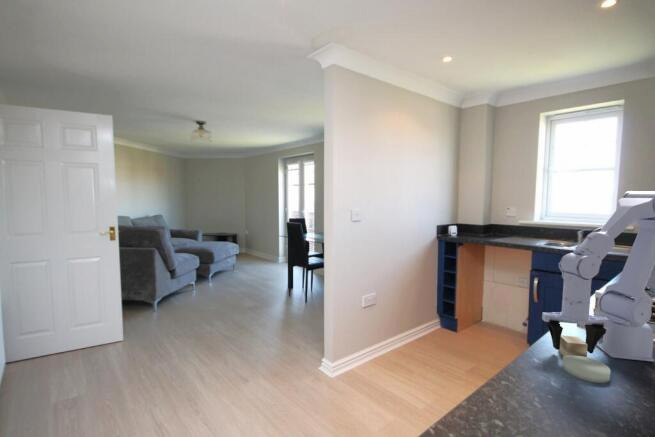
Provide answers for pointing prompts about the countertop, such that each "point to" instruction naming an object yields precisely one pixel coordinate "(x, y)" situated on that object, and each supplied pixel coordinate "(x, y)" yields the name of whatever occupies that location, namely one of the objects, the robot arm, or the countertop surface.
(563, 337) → the beech cube
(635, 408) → the countertop surface
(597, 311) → the sprinkles bottle
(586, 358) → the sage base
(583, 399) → the countertop surface
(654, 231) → the robot arm
